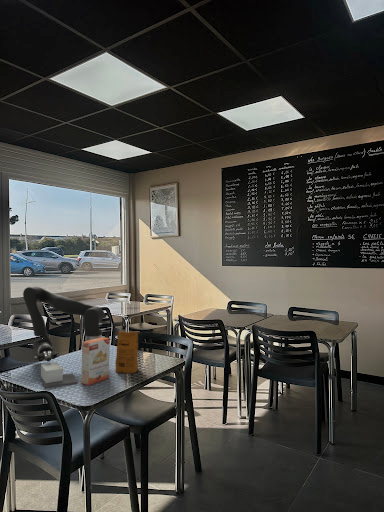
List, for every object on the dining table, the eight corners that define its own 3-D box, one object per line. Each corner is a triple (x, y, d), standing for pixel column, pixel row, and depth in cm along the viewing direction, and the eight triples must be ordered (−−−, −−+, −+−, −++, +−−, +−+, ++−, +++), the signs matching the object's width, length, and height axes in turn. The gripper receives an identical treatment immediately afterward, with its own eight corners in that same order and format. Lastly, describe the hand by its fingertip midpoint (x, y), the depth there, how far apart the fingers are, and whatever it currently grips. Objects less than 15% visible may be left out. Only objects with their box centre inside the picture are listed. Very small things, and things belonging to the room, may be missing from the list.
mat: (72, 375, 193) (72, 373, 193) (77, 383, 181) (77, 381, 181) (42, 379, 187) (42, 377, 187) (44, 388, 174) (45, 386, 174)
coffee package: (118, 367, 207) (119, 329, 207) (140, 368, 206) (140, 329, 206) (112, 373, 197) (113, 332, 197) (135, 374, 196) (135, 333, 196)
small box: (40, 376, 188) (45, 383, 177) (40, 364, 188) (45, 370, 177) (56, 374, 192) (62, 381, 181) (57, 362, 192) (63, 368, 181)
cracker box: (89, 386, 177) (89, 343, 177) (80, 383, 180) (81, 341, 180) (109, 378, 189) (110, 337, 189) (101, 376, 192) (102, 336, 192)
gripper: (32, 346, 201) (34, 353, 185) (57, 343, 207) (62, 351, 191) (32, 359, 201) (34, 368, 185) (57, 357, 207) (61, 365, 191)
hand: (48, 359), depth 188 cm, fingers closed
